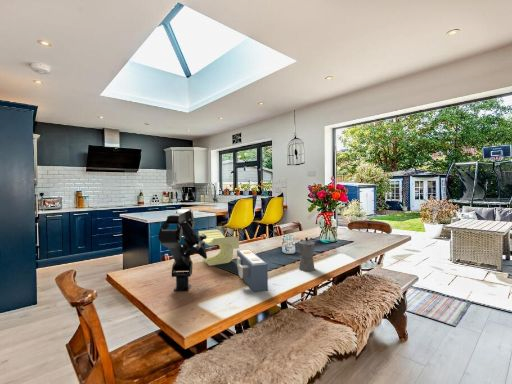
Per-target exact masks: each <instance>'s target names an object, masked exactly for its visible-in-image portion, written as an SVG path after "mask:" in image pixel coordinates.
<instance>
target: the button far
mask: <svg viewBox="0 0 512 384" xmlns="http://www.w3.org/2000/svg"><path fill="white" fill-rule="evenodd" d="M239 264H240V265H241V266H242V259H241V258H239V257H238V256H237V255H236V268H237V267H238V268H239Z"/></svg>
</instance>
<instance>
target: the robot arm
mask: <svg viewBox="0 0 512 384" xmlns="http://www.w3.org/2000/svg"><path fill="white" fill-rule="evenodd" d="M195 223H196V222H195V216H194V212H193V211H192V209H190V208H183V209H182V208H178V209H177V210H176V211H175V213H173V214H169V215H167V217H166V221H164V222H163V223H162V224H161V225H160V228H159V231H158V241H159V242H160V244H161V245H162V247H165V248H168V250H169V251H170V254H171V255H172V258H173V260H174V261H173V263H172V268H171V278H175V287H174V289H173V291H174V292H179V291H180V292H182V291H184V292H185V291H189V289H190V288H191V286H192V284H189V278H191V276H192V275H193V266H194V265H193V261H192V258H191V256H192V255H194V254H197V255H199V256H201V258H202V259H203V258H204V259H206V258H207V257H208V256H207V255H208V254H207V248H206V244H205V242H202V240H203V239H206V238H207V237H206V235H205V234H202V235H200V236H199V235H197V234H198V233H197V231H196V230H194V227H195ZM171 225H176V228H171V229H170V228H169V227H170V226H171ZM182 237H183V243H182V244H181V240H182Z"/></svg>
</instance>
